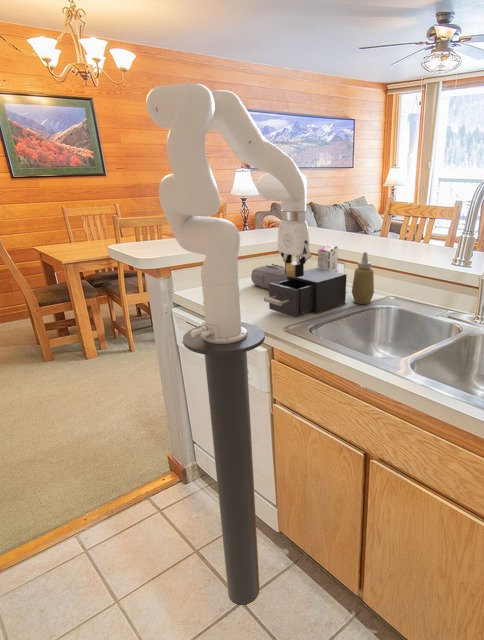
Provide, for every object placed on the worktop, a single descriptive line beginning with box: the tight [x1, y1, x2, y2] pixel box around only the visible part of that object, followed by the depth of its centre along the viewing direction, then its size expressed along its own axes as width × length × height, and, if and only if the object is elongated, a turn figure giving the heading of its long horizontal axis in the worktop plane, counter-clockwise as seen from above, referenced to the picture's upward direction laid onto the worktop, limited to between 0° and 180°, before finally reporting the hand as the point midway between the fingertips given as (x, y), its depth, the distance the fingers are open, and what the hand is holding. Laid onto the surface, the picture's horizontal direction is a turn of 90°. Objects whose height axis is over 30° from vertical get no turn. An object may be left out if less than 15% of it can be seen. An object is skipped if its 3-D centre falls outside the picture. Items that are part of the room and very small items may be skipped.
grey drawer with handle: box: [263, 279, 315, 318], centre depth 145 cm, size 20×13×9 cm, turn 139°
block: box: [286, 260, 297, 278], centre depth 142 cm, size 4×4×4 cm
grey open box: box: [287, 267, 348, 315], centre depth 154 cm, size 16×14×11 cm
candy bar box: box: [317, 244, 339, 272], centre depth 171 cm, size 11×5×16 cm, turn 161°
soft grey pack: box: [250, 263, 287, 290], centre depth 175 cm, size 15×8×20 cm
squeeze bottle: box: [351, 251, 375, 305], centre depth 156 cm, size 8×8×18 cm
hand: (294, 274), depth 142 cm, fingers closed on block, 4 cm apart
